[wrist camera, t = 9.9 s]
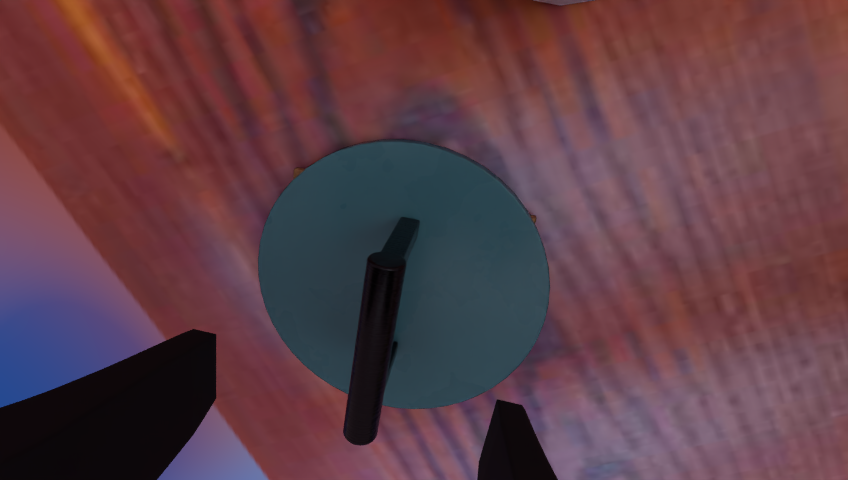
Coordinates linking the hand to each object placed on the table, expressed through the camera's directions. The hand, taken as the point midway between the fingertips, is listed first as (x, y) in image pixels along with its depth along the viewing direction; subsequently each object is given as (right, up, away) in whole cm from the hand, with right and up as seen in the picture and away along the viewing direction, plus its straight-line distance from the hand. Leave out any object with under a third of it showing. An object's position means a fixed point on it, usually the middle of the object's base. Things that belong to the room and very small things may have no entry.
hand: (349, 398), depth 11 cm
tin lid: (+1, +2, +6) cm, 6 cm away
